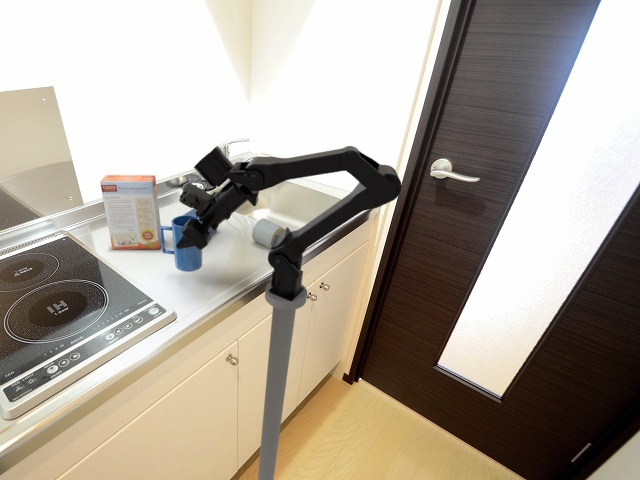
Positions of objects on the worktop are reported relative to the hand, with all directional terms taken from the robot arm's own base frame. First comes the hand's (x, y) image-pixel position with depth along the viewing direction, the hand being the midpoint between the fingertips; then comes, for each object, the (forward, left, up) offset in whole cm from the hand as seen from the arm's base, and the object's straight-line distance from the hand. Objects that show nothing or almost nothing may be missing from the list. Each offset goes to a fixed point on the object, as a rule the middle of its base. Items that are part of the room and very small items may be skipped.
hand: (181, 240), depth 89 cm
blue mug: (0, 0, -7) cm, 7 cm away
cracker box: (+24, -5, -12) cm, 27 cm away
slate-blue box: (+14, -19, -12) cm, 26 cm away
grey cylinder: (-7, -31, -12) cm, 34 cm away
